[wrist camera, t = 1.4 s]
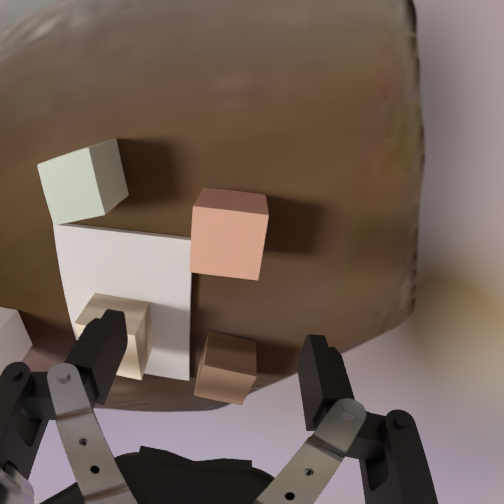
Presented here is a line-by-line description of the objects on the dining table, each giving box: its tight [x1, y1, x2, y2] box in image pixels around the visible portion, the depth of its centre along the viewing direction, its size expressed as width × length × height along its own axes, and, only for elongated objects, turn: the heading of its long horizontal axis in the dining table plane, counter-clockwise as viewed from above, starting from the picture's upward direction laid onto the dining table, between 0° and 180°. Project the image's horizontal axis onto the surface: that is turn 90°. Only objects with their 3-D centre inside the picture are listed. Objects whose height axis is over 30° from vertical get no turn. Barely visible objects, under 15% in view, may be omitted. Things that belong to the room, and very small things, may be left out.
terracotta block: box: [189, 187, 269, 280], centre depth 24 cm, size 5×5×5 cm
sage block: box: [37, 139, 129, 225], centre depth 22 cm, size 5×5×5 cm
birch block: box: [74, 293, 153, 380], centre depth 28 cm, size 6×6×5 cm
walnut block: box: [194, 330, 257, 405], centre depth 30 cm, size 5×5×5 cm
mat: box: [53, 223, 192, 381], centre depth 30 cm, size 18×14×1 cm
